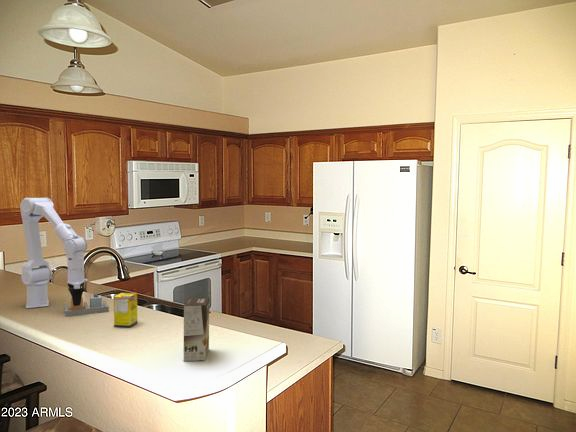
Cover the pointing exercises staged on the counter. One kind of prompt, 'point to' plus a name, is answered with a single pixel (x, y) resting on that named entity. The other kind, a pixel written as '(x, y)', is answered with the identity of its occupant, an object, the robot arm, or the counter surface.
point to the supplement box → (125, 309)
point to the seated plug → (95, 301)
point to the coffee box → (196, 329)
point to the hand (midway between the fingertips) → (76, 303)
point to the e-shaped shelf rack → (86, 309)
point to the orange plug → (77, 306)
